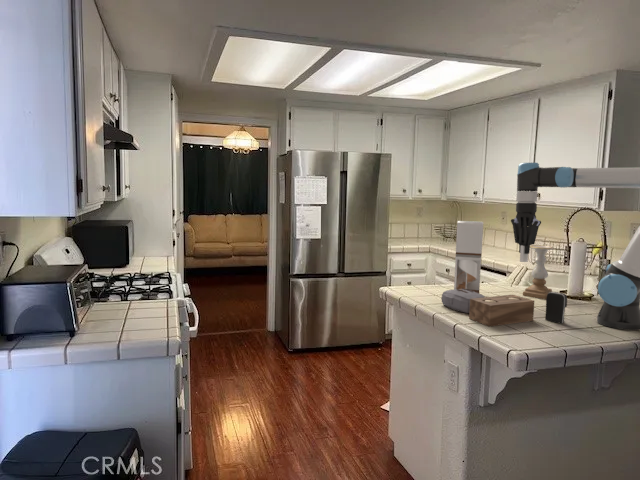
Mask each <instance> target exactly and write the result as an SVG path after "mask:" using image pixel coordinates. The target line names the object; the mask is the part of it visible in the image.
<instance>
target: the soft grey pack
mask: <svg viewBox="0 0 640 480" xmlns="http://www.w3.org/2000/svg"><path fill="white" fill-rule="evenodd" d="M483 297H486V296H485V295H483V294H481V293H480V292H479V293H476V292H474V291H471V290H468V289H464V288H462V289H454V288H453V289H449V290H445V291H443V292H442V294H441V303H442V305H443V306H445V307H447V308H448V307H449V308H448V309H451V310H453V309H454V310H453V311H456V310H457V312H460V313H465V314H466V313H467V314H469V312H470V299H474V298H483Z"/></svg>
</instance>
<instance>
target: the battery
mask: <svg viewBox="0 0 640 480" xmlns="http://www.w3.org/2000/svg"><path fill="white" fill-rule="evenodd" d="M567 306H568V296H567V295H566V293H563V292H557V291H552V292H549V293H548V294H547V298H546V299H545V317H544V318H545V320H547V321H550V322H553V323H557V324H563V323H564V322H565V313H566V308H567Z"/></svg>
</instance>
